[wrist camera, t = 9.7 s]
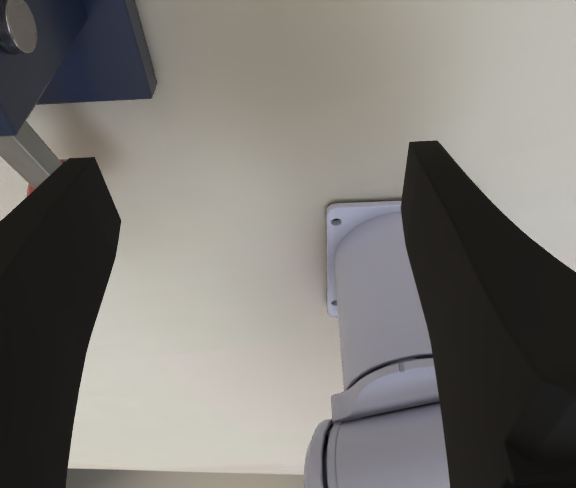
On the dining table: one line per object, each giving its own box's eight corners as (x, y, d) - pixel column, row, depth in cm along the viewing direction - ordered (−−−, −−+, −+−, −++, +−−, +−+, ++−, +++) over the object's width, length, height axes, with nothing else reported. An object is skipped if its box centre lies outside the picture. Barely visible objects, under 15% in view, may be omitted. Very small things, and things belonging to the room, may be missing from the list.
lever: (118, 180, 24) (110, 241, 23) (54, 183, 24) (43, 243, 23) (-54, -62, 13) (-87, 30, 12) (-171, -54, 13) (-214, 38, 12)
